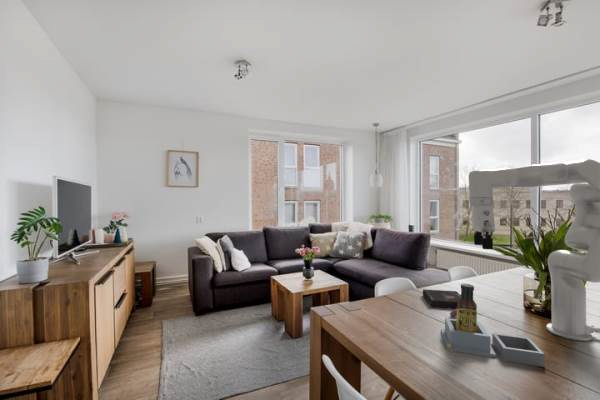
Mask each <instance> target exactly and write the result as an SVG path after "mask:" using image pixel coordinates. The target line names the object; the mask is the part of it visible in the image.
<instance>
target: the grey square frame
mask: <svg viewBox="0 0 600 400" xmlns="http://www.w3.org/2000/svg"><path fill="white" fill-rule="evenodd" d="M491 335H492V340H491V341H492V346H493V347H494V349H495V350H496V352H497V353H498V355H499V356H500V357H501V359H502V361H503V362H504V361H505V362H510V363H516V364H522V365H530V366H536V367H542V368H546V354H545V353H544V352H543V351H542V349H540V348H539V346H537V344H535V342H534V341H533V340H532V339H531V338H530V337H526V336H518V335H509V334H502V333H495V332H492V334H491Z"/></svg>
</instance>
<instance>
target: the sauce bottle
mask: <svg viewBox="0 0 600 400" xmlns="http://www.w3.org/2000/svg"><path fill="white" fill-rule="evenodd" d="M460 290H461V291H460V292H461V293H460V295H461V298H460V299H459V300H458V302H457V316H456V317H455V319H456V330H457V331H465V332H472V333H476V330H477V322H478V311H477V307H478V306H477V303H476V301H475V300H474V291H475V286H474V285H473V284H471V283H461V284H460Z"/></svg>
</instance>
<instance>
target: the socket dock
mask: <svg viewBox="0 0 600 400" xmlns="http://www.w3.org/2000/svg"><path fill="white" fill-rule="evenodd" d="M440 334H441V335H442V338H443V340H444V343H445V346H446V349H447V351H451V352H456V353H457V352H458V353H465V354H472V355H477V356H483V357H489V358H497V354H496V353H495V351H494V349H493V348H492V345H491V335H490V334H489V333H488V331H487V330H486V328H485V327H484V326H483V324H482V323H481V322H480V321H477V330H476V333H472V332H465V331H457V330H456V318H448V317H445V318H444V329H440Z"/></svg>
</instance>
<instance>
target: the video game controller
mask: <svg viewBox="0 0 600 400" xmlns="http://www.w3.org/2000/svg"><path fill="white" fill-rule="evenodd" d="M449 316H450V317H452V318H457V308H456V309H452V310H451V311H450V313H449Z"/></svg>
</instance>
